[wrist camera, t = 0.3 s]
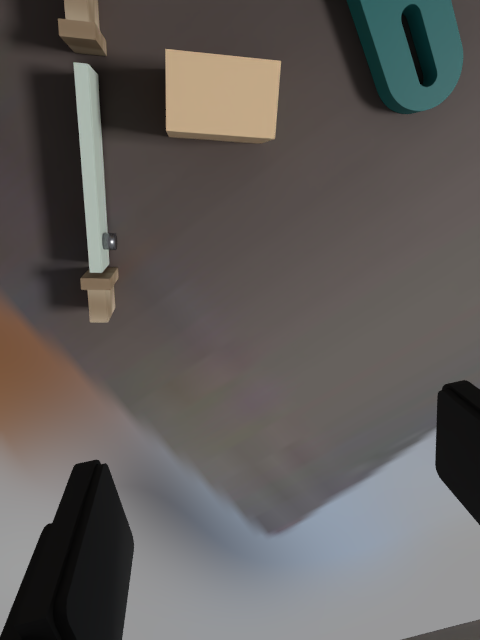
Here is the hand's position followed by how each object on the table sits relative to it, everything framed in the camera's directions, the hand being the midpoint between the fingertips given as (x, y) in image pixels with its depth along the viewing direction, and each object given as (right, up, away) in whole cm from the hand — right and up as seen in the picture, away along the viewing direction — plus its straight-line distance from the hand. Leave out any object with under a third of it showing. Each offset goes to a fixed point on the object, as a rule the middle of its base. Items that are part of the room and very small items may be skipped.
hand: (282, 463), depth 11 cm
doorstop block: (-3, +22, +23) cm, 32 cm away
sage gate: (-13, +16, +23) cm, 31 cm away
